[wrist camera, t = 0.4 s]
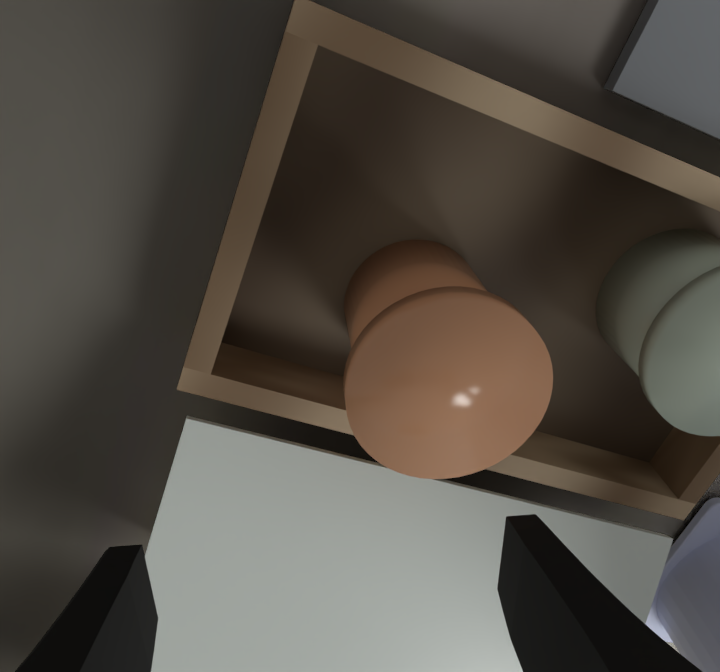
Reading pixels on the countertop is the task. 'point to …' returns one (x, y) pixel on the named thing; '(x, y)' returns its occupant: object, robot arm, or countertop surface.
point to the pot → (438, 364)
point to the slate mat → (674, 63)
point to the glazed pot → (669, 324)
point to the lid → (348, 562)
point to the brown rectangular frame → (453, 229)
